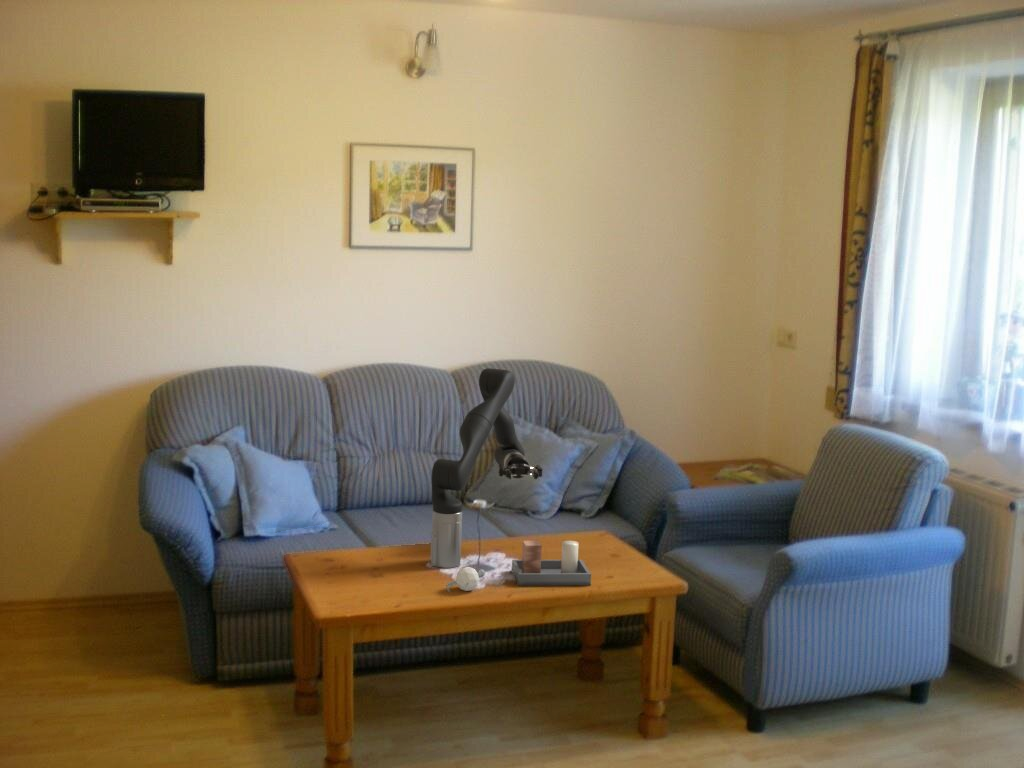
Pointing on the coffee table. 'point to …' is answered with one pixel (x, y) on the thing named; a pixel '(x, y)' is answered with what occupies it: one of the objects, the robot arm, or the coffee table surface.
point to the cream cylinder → (569, 557)
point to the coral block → (531, 557)
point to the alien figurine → (467, 579)
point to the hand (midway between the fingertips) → (523, 476)
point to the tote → (551, 574)
